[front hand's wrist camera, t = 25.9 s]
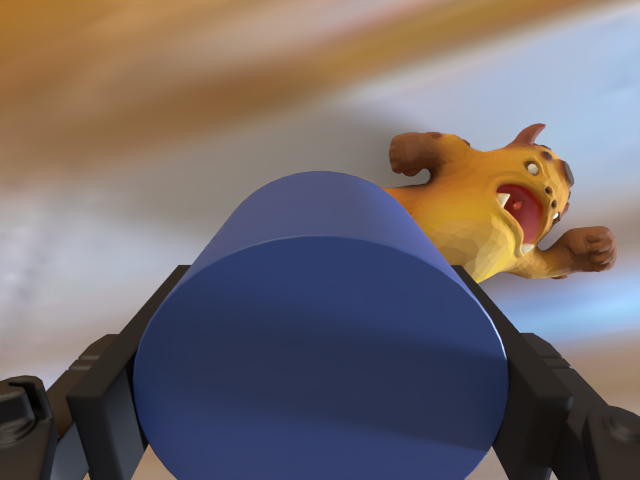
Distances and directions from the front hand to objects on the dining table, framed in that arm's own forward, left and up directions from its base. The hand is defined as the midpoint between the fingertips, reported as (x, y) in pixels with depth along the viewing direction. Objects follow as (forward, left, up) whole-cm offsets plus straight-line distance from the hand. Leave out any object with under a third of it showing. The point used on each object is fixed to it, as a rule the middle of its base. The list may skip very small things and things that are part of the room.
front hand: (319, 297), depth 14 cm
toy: (-2, -10, -12) cm, 16 cm away
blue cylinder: (0, 0, -2) cm, 2 cm away
